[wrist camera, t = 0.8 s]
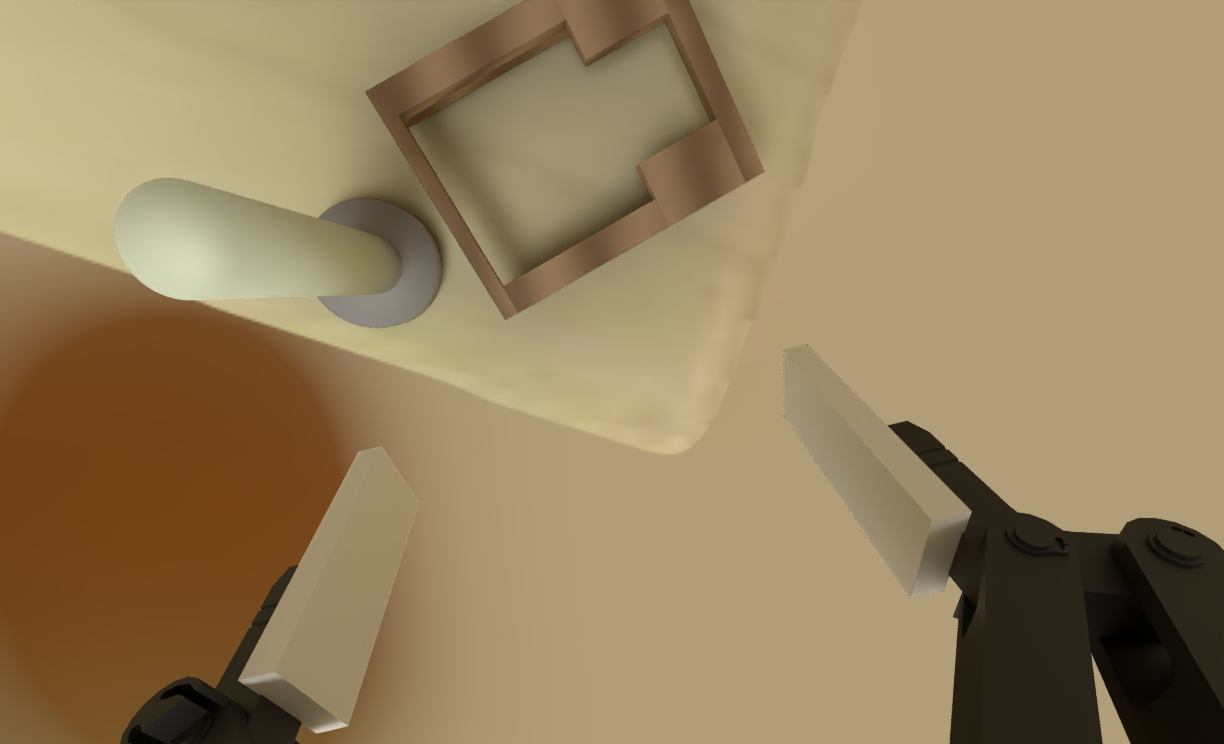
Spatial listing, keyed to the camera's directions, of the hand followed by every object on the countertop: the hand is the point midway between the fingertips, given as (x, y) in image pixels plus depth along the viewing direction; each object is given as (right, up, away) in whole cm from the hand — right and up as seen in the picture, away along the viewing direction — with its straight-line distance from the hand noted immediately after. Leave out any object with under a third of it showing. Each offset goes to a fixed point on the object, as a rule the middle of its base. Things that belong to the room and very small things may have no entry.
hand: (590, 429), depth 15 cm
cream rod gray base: (-17, +10, +19) cm, 27 cm away
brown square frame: (-2, +18, +19) cm, 26 cm away
